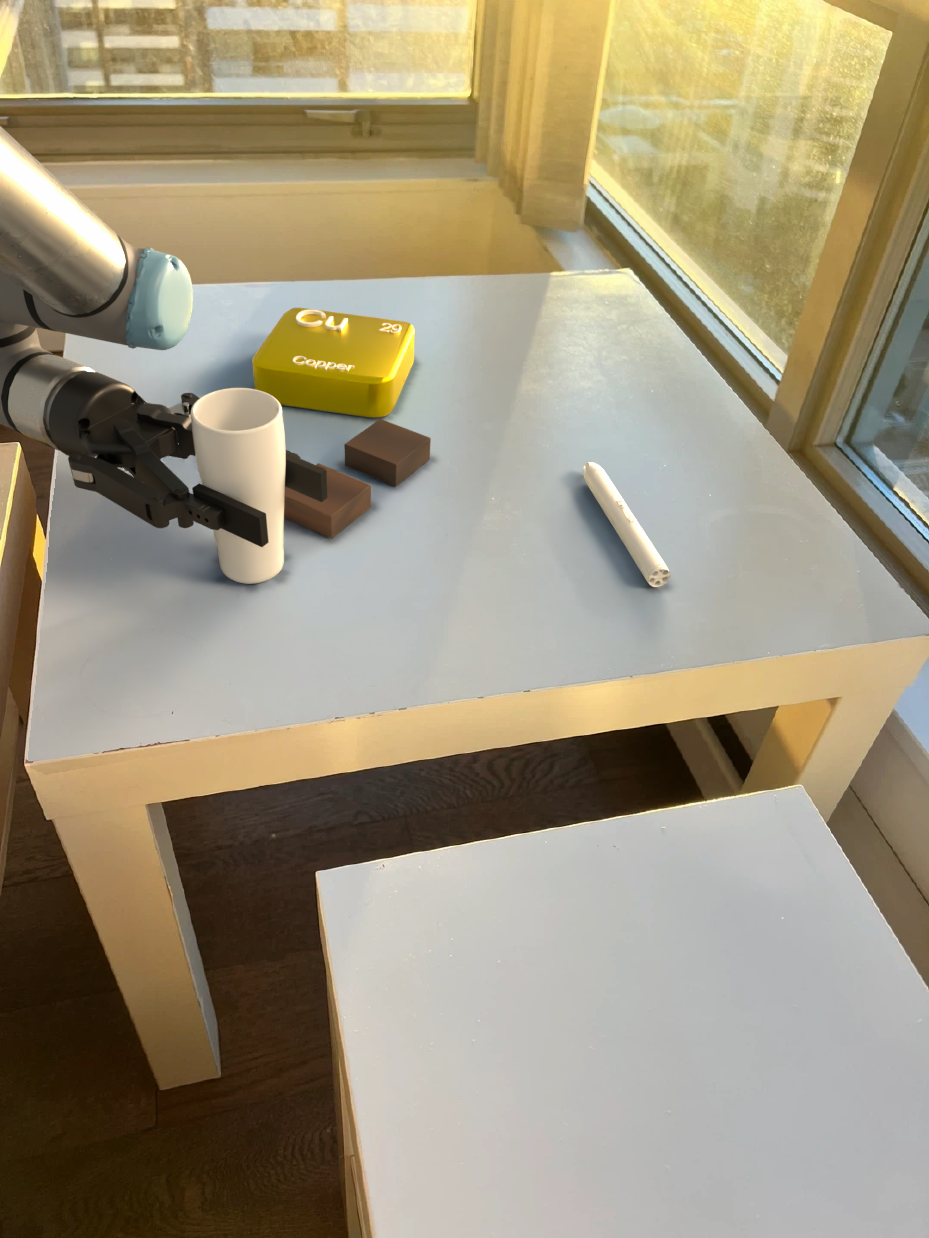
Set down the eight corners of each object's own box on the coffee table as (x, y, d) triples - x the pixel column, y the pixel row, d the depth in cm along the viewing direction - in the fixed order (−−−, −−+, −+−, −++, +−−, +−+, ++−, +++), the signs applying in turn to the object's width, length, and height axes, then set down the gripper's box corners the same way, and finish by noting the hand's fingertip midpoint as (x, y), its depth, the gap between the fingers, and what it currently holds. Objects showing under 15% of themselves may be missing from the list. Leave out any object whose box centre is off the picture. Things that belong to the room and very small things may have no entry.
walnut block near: (331, 539, 84) (331, 516, 83) (278, 515, 86) (276, 492, 85) (371, 507, 88) (371, 484, 87) (319, 485, 90) (318, 462, 89)
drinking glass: (307, 576, 80) (299, 419, 70) (231, 602, 77) (212, 442, 67) (271, 533, 84) (258, 379, 74) (198, 557, 81) (174, 399, 71)
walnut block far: (395, 487, 91) (396, 464, 89) (344, 466, 93) (344, 444, 91) (429, 459, 95) (431, 437, 93) (380, 440, 97) (380, 418, 95)
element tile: (249, 402, 101) (245, 360, 98) (290, 340, 112) (288, 300, 109) (389, 421, 100) (389, 380, 97) (417, 357, 111) (418, 317, 108)
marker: (575, 473, 95) (578, 452, 93) (594, 471, 95) (598, 451, 94) (645, 589, 82) (651, 567, 81) (668, 586, 83) (674, 564, 81)
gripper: (169, 406, 91) (369, 490, 83) (-5, 502, 78) (212, 613, 70) (157, 331, 86) (369, 412, 78) (-30, 421, 73) (200, 530, 65)
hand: (294, 507), depth 74 cm, fingers closed on drinking glass, 7 cm apart
